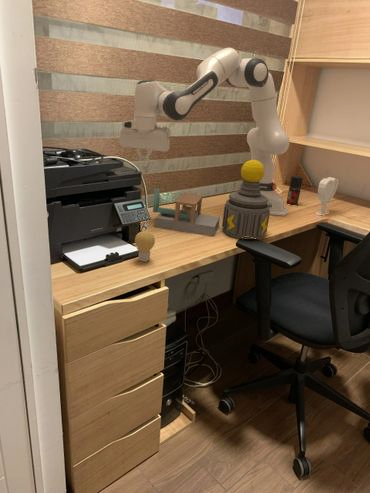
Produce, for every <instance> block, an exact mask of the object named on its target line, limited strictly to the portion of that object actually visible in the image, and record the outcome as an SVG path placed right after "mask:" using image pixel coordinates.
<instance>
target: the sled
mask: <svg viewBox="0 0 370 493" xmlns="http://www.w3.org/2000/svg"><path fill="white" fill-rule="evenodd" d="M160 192H161V189H160V188H157V187H156V188H153V200H152V201H153V205H152V212H153V213H158V214H160V213H166V214H172V215H175V208H168V207H161V206H160V197H161V196H160V194H161V193H160ZM197 215H198V211H197V210H196V212H195V218H196V217H197ZM179 218H184V219H190V218H191V214H186V213H183V209H182V208H181V209H180V212H179Z"/></svg>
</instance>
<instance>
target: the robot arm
mask: <svg viewBox="0 0 370 493" xmlns="http://www.w3.org/2000/svg"><path fill="white" fill-rule="evenodd" d="M196 68H197V69H196V78H197V80H196V81H194V83H192V84H190V86H188V87H187V88H186V89H184V90H180V91H179V90H177V91H175V90H173V91H172V90H169V89H167V88H165V87H164V86H162V85H160V84H159V82H158V81H157V80H156V79H142V80H139V81H138V82H137V83H136V85H135V91H134V100H133V101H134V114H133V118H132V119H129V120H125V121H122V122H121V129H120V132H119V140H118V141H119V142H118V143H119V145H120V147H122V148H132V149H136V152H137V153H136V154H138V161H147V162H148V161H149V160H150V155H151V154H152V152H153V151H158V152H168V151H169V150H170V147H171V146H170V145H171V144H170V142H171V141H170V138H171V130H170V129H169V128H168V127H167V126H162V125H157V122H158V121H157V118H158V115H159V116H162V117H165V118H169V119H172V120H174V121H181V120H184V119H185V118H186V117H187V116H188V115H189V113H190V112H191V111H192V109H193V107H194V106H195V105H196V104H198V103H199V102H200V101H202V99H203V98H205V97H206V96H208V95H209V93H211V92H212V91H213V90H214V89H215V88H216V87H217V86H219V85H221V84H222V83H224V81H225V82H226V83H227V84H228V85H229V86H231V87H235V88H236V87H237V88H248V89H249V92H250V93H249V94H250V95H249V96H250V105H251V112H252V118H253V121H254V122H255V123H256V125H257V127H253V128H251V129H250V130H249V131H248V133H247V135H246V142H247V144H248V146H249V150H250V158H251V159H250V160H257V161H259V162H260V163H262V165H263V166H264V170H265V172H264V176H263V178H262V179H261V180H260V181H259V182H260V185H259V186H260V190H259V191H260V192H261V194H262V195H264V196H266V197H267V198H268V203H267V204H268V205H269V206H270V208H269V210H270V215H271V216H281V217H282V216H283V217H284V216H285V217H286V216H287V215H288V212H289V211H288V208H286V207H285V201H284V198H283V196H281V195H280V194H279V193H278V192H277V187H278V186H277V184H276V183H275V182H273V181H274V180H273V179H274V176H275V174H274V173H275V169H276V168H275V166H276V165H275V164H274V162H273V159H272V158H273V157H272V156H273V155H275V156H276V155H283V154H285V153H286V152H287V151H288V149H289V146H290V137H289V136H288V135H287V133H286V132H285V131H284V128H283V125H282V123H281V121H280V117H279V114H278V113H279V112H278V106H277V96H276V94H277V92H276V87H275V83H274V79H273V75H272V73H271V72H269V67H268V65H267V63H266V62H265V60H263V59H261V58H258V57H253V58H250V57H249V58H248V57H246V58H240V55H239V53H238V52H237V49H234V48H233V47H225V48H223V49H220V50H218V51H217V52H214V53H213V54H211V55H209V56H208V57H206V58H205V59H204V60H202V61H201V62H200V64H198V66H197V67H196ZM142 150H146V153H147V154H146V155H143V154H142ZM270 215H269V216H270Z"/></svg>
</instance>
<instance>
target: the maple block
mask: <svg viewBox="0 0 370 493" xmlns="http://www.w3.org/2000/svg"><path fill="white" fill-rule="evenodd" d="M191 207H192V206H187V205H186V206H185V207H184V208H183V213H186V214H191Z"/></svg>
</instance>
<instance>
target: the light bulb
mask: <svg viewBox="0 0 370 493" xmlns="http://www.w3.org/2000/svg"><path fill="white" fill-rule="evenodd" d="M134 237H135V238H134V244H135V246H136V248H137V249H138V260H139V261H140V262H148V261H150V259H151V250H152V249H153V248H154V246H155V244H156V243H155V242H156V238H155V236H154V234H153V232H150V231H147V230H142V231H140V232H138V233H137V234H136V235H135V236H134Z"/></svg>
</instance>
